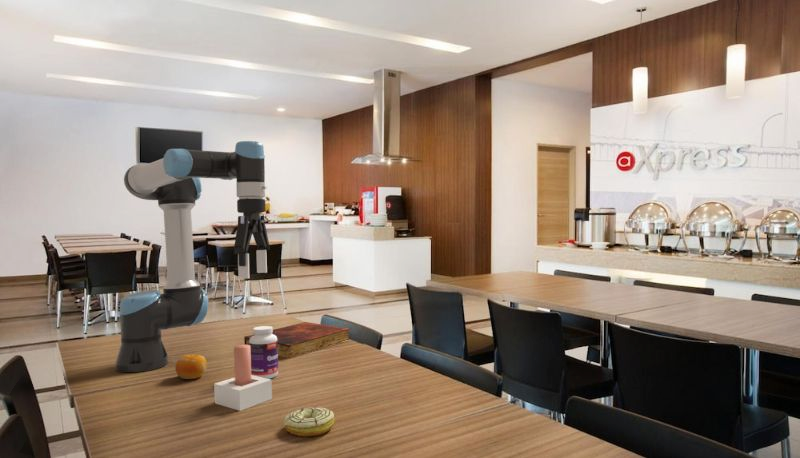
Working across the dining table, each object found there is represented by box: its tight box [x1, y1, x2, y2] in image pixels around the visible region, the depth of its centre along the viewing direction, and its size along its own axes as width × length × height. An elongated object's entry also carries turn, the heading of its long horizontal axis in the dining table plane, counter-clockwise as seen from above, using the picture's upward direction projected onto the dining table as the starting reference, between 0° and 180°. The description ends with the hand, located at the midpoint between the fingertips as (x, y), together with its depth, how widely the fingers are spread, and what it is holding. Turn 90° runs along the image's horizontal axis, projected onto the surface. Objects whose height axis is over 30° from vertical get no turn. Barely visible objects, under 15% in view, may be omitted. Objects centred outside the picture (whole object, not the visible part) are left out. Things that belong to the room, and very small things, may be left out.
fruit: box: [175, 353, 208, 380], centre depth 160 cm, size 8×8×8 cm
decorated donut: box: [283, 406, 335, 438], centre depth 120 cm, size 10×11×4 cm
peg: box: [233, 344, 251, 386], centre depth 139 cm, size 4×4×14 cm
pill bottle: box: [249, 325, 279, 379], centre depth 159 cm, size 8×8×14 cm
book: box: [243, 321, 351, 359], centre depth 198 cm, size 30×24×5 cm
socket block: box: [213, 375, 273, 412], centre depth 139 cm, size 10×10×5 cm
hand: (253, 275), depth 150 cm, fingers open, 13 cm apart
